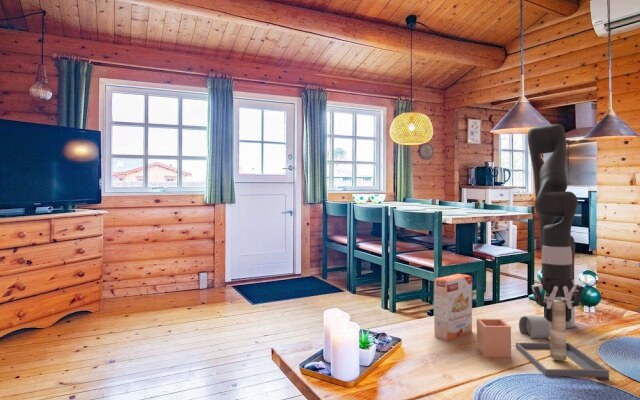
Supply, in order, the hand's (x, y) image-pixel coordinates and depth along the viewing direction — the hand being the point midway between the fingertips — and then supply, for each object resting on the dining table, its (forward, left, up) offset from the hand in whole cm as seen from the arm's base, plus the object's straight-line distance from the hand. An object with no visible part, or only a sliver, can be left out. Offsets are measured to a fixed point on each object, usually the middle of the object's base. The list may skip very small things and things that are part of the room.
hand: (557, 320), depth 118 cm
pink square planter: (-6, -16, -13) cm, 21 cm away
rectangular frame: (0, 0, -13) cm, 13 cm away
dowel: (0, 0, -11) cm, 11 cm away
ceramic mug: (-22, +2, -13) cm, 26 cm away
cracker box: (-22, -24, -13) cm, 35 cm away
